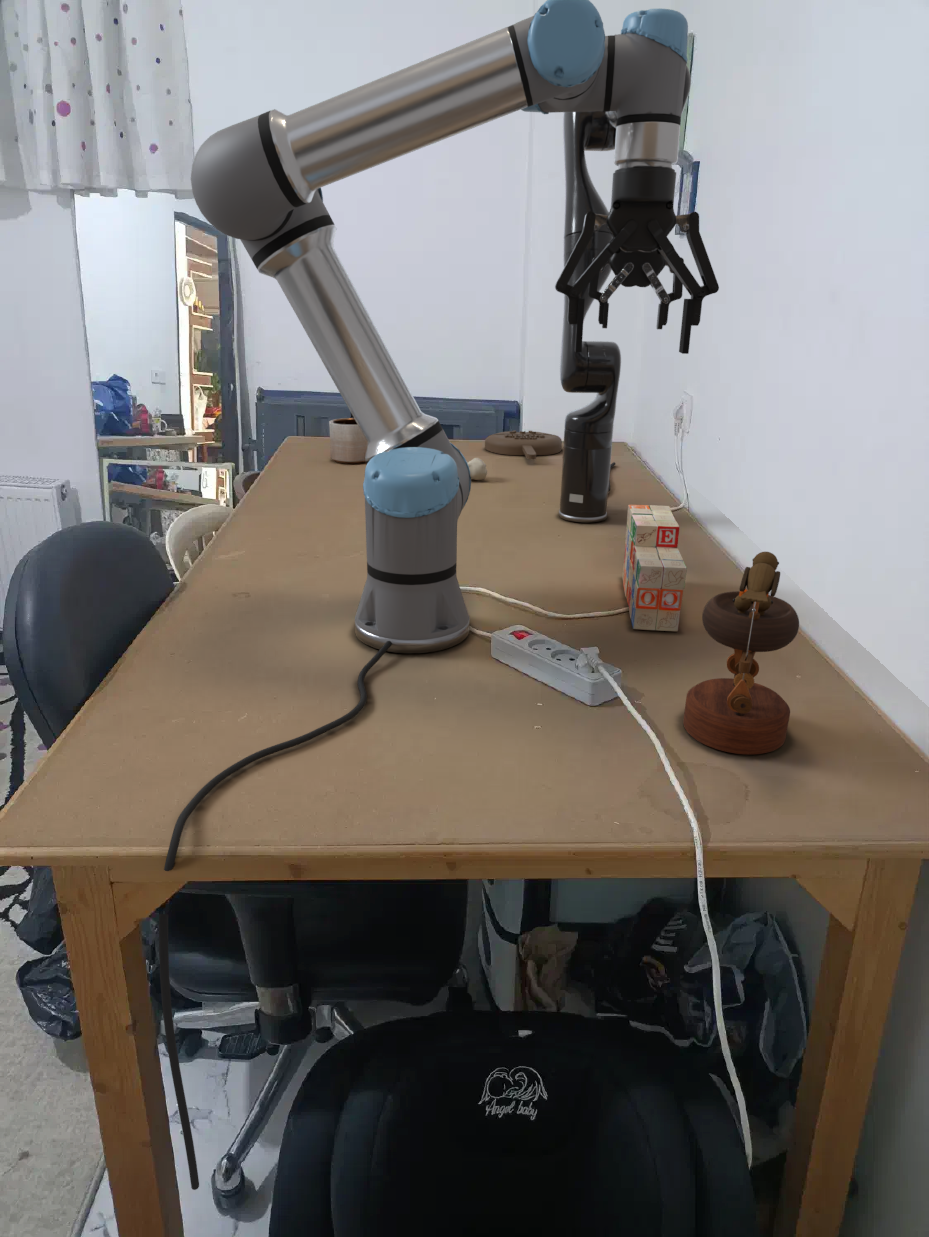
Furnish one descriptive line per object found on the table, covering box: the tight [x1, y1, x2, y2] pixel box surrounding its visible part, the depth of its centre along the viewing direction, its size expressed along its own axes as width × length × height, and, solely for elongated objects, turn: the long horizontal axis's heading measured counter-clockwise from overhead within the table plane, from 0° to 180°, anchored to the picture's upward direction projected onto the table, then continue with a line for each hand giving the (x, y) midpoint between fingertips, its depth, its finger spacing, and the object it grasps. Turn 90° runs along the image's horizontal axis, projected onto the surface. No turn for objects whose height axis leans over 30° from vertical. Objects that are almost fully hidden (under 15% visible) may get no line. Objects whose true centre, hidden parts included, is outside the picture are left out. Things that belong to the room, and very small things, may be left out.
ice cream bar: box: [484, 430, 563, 460], centre depth 224 cm, size 21×28×4 cm
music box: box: [682, 551, 800, 755], centre depth 87 cm, size 15×11×20 cm
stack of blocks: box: [622, 504, 688, 632], centre depth 122 cm, size 21×6×12 cm, turn 174°
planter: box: [328, 417, 367, 464], centre depth 212 cm, size 11×11×10 cm
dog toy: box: [467, 457, 488, 481], centre depth 194 cm, size 20×6×5 cm, turn 99°
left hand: (630, 352), depth 110 cm, fingers open, 13 cm apart
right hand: (631, 328), depth 133 cm, fingers open, 8 cm apart
